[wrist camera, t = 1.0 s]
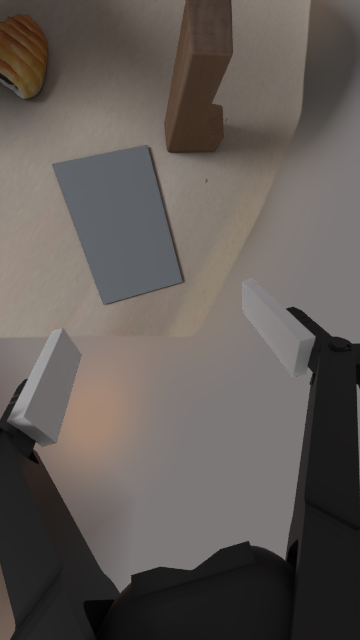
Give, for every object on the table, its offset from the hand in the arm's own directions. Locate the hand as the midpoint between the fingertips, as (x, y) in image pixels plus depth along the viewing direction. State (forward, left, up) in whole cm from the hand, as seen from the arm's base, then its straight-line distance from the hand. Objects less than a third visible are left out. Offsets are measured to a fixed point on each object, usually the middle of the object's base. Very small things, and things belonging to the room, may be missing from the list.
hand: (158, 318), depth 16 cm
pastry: (-37, -8, -28) cm, 47 cm away
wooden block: (-24, +15, -28) cm, 40 cm away
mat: (-12, -1, -28) cm, 30 cm away
